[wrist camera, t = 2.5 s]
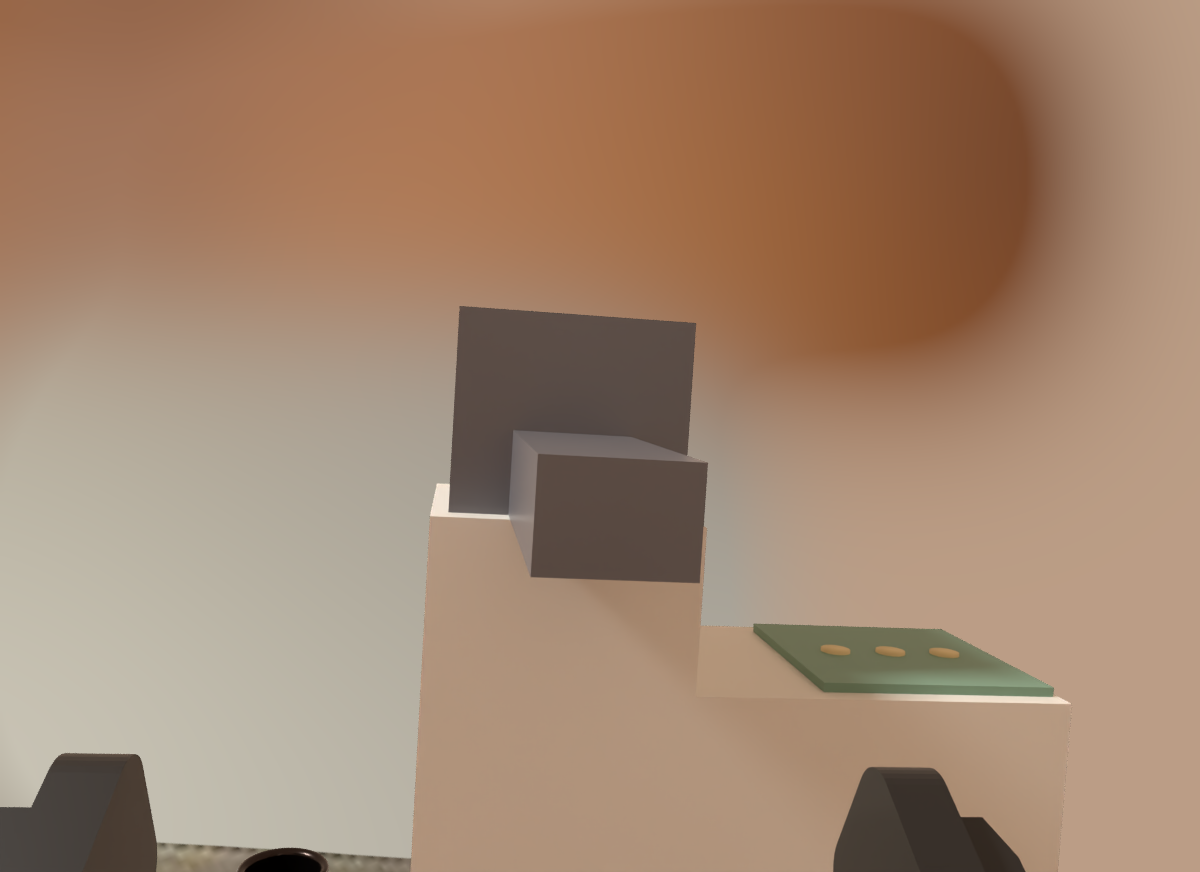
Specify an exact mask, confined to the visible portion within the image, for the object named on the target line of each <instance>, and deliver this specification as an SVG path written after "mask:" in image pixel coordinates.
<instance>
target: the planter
mask: <svg viewBox="0 0 1200 872" xmlns="http://www.w3.org/2000/svg"><path fill="white" fill-rule="evenodd" d="M237 872H328V862H327V860H326V859H325V858H324V857H323V856H322V855H320V854H319V853H317V852H314V851H311V850H307V849H301V848H279V849H272V850H268V851H264V852H261V853H258V854H255V855H253V856H251V857H249V858H248V859H246V860H245V861H244V862H243V863H242V864H241V865H240V866H239V868H238V870H237Z"/></svg>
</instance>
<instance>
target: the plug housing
mask: <svg viewBox="0 0 1200 872" xmlns="http://www.w3.org/2000/svg"><path fill="white" fill-rule="evenodd" d="M695 332H696V323H687V322H673V321H659V320H644V319H631V318H618V317H603V316H589V315H576V314H562V313H548V312H534V311H520V310H506V309H492V308H478V307H465V306H460V312H459V329H458V347H457V366H456V384H455V402H454V420H453V438H452V455H451V474H450V491H449V509H448V512H451V513H474V514H497V515H509V518H510V521H511V524H512V527H513V529H514V532H515V535H516V538H517V541H518V543H519V546H520V549H521V552H522V555H523V557H524V560H525V563H526V566H527V569H528V572H529V574H530V577H537V578H565V579H593V580H621V581H649V582H678V583H700V572H701V557H702V542H703V527H704V512H705V498H706V497H705V496H706V483H707V467H708V463H707V462H704V461H701V460H698V459H695V458H692V457H689V456H687V452H688V436H689V422H690V407H691V406H690V405H691V392H692V377H693V362H694V346H695Z"/></svg>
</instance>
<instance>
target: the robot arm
mask: <svg viewBox="0 0 1200 872" xmlns="http://www.w3.org/2000/svg"><path fill="white" fill-rule="evenodd" d="M156 865H157V843H156V836H155V831H154V825H153V820H152V814H151V809H150V803H149V798H148V793H147V787H146V782H145V776H144V770H143V765H142V761H141V759H140V757H139V756H138V755H136V754H77V753H65V754H61V755H60V756H58V757H57V758H56V759H55V761H54V762H53V764H52V765H51V767H50V769H49V771H48V773H47V775H46V777H45V779H44V782H43V784H42V786H41V788H40V790H39V792H38V794H37V796H36V799H35V801H34V803H33V805H32V807H31V808H23V807H21V808H20V807H8V808H7V807H0V872H156ZM833 872H1026V871H1025V869H1024V867H1023V865H1022V863H1021V861H1020V859H1019V857H1018V856H1017V855H1016V854H1015V853H1014V852H1013V850H1012V849H1011V848H1010V847H1009V846H1008V845H1007V844H1006V843H1005V842H1004V840H1003V839H1002V838H1001V837H1000V836H999V835H998V834H997V833H996V832H995V831H994V829H993V828H992V827H991V826H990V825H989V824H988V823H987V822H986V821H985V820H984V818H983V817H961V816H960V814H959V812H958V810H957V807H956V805H955V803H954V801H953V798H952V796H951V794H950V792H949V789H948V787H947V785H946V783H945V781H944V779H943V778H942V776H941V775H940V774H939V773H938V772H937V771H936V770H935V769H933V768H921V767H869V768H867V769H866V770H865V772H864V773H863V775H862V777H861V780H860V783H859V785H858V788H857V791H856V794H855V796H854V799H853V802H852V804H851V807H850V810H849V812H848V815H847V818H846V821H845V823H844V826H843V829H842V831H841V834H840V837H839V839H838V842H837V845H836V848H835V853H834V861H833Z"/></svg>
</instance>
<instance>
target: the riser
mask: <svg viewBox="0 0 1200 872" xmlns="http://www.w3.org/2000/svg"><path fill="white" fill-rule="evenodd" d="M449 491H450V484H437V487H436V491H435V496H434V501H433V505H432V509H431V514H430V526H429V543H428V544H429V545H428V562H427V580H426V598H425V618H424V637H423V655H422V672H421V690H420V708H419V727H418V746H417V764H416V765H417V766H416V782H415V801H414V819H413V837H412V855H411V856H412V857H411V872H833V861H834V853H835V848H836V845H837V842H838V839H839V837H840V834H841V831H842V829H843V826H844V823H845V821H846V818H847V815H848V812H849V810H850V807H851V804H852V802H853V799H854V796H855V794H856V791H857V788H858V785H859V783H860V780H861V777H862V775H863V773H864V772H865V770H866V769H867V768H869V767H921V768H933V769H935V770H936V771H937V772H938V773H939V774H940V775H941V776H942V778H943V779H944V781H945V783H946V785H947V787H948V789H949V792H950V794H951V796H952V798H953V801H954V803H955V805H956V807H957V810H958V812H959V814H960V816H961V817H983V818H984V820H985V821H986V822H987V823H988V824H989V825H990V826H991V827H992V828H993V829H994V831H995V832H996V833H997V834H998V835H999V836H1000V837H1001V838H1002V839H1003V840H1004V842H1005V843H1006V844H1007V845H1008V846H1009V847H1010V848H1011V849H1012V850H1013V852H1014V853H1015V854H1016V855H1017V856H1018V857H1019V859H1020V861H1021V863H1022V865H1023V867H1024V869H1025V871H1026V872H1058V862H1059V850H1060V839H1061V827H1062V815H1063V803H1064V791H1065V780H1066V768H1067V757H1068V744H1069V732H1070V721H1071V710H1072V704H1070V703H1069V702H1067V701H1065V700H1063V699H1061V698H1059V697H1058V696H1056V695H1054V694H1053V691H1054V688H1053V687H1051V686H1050V685H1048V684H1046V683H1044V682H1042V681H1040V680H1038V679H1036V678H1034V677H1032V676H1030V675H1028V674H1026V673H1025V672H1023V671H1021V670H1019V669H1017V668H1015V667H1013V666H1011V665H1009V664H1007V663H1005V662H1003V661H1001V660H1000V659H998V658H996V657H994V656H992V655H990V654H988V653H986V652H984V651H982V650H980V649H978V648H976V647H974V646H973V645H971V644H969V643H967V642H965V641H963V640H961V639H959V638H957V637H955V636H953V635H951V634H949V633H947V632H946V631H943V630H942V629H911V628H909V629H908V628H877V627H843V626H811V625H779V624H754V627H728V626H700V624H701V609H702V594H703V579H704V565H705V550H706V535H707V528H706V527H703V542H702V557H701V572H700V583H678V582H649V581H621V580H593V579H565V578H537V577H530V574H529V572H528V569H527V566H526V563H525V560H524V557H523V555H522V552H521V549H520V546H519V543H518V541H517V538H516V535H515V532H514V529H513V527H512V524H511V521H510V518H509V515H497V514H474V513H451V512H448V509H449Z"/></svg>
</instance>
